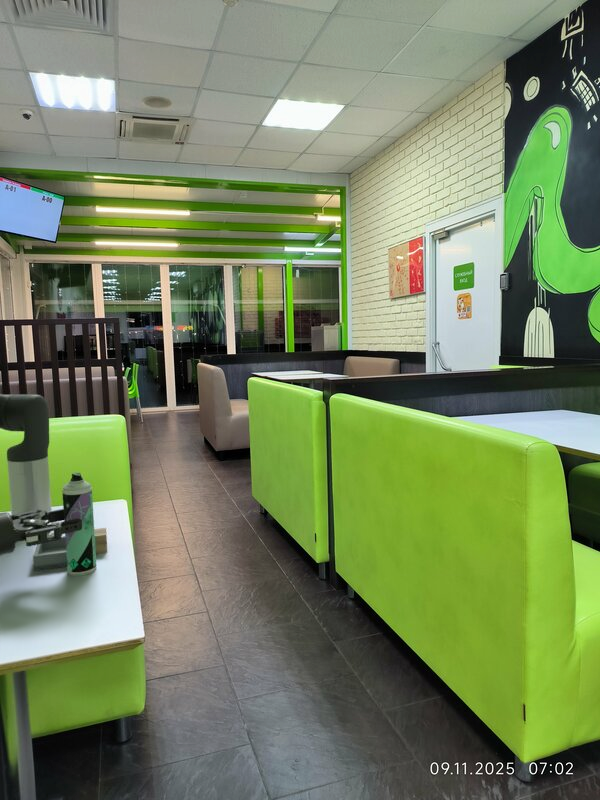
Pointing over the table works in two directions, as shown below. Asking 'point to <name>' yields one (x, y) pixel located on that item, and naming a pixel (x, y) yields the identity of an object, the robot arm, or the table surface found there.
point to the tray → (50, 555)
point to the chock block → (100, 540)
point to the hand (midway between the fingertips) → (74, 518)
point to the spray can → (82, 541)
